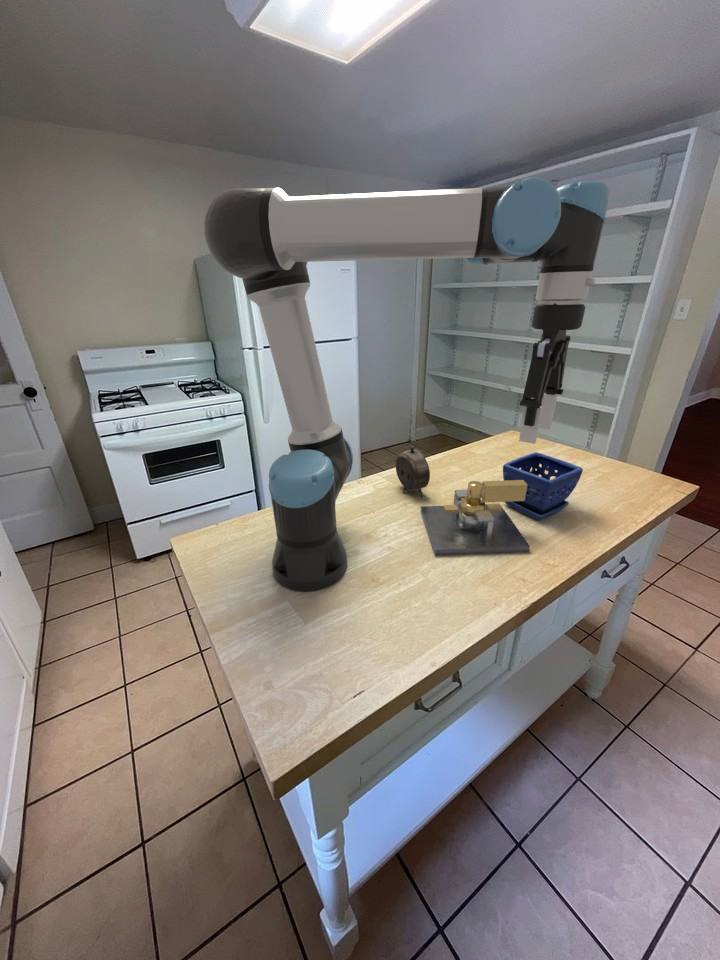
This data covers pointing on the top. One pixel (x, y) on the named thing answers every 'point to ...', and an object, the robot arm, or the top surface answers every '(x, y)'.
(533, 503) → the flower pot
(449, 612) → the top surface
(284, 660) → the top surface
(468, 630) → the top surface
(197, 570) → the top surface
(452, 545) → the socket
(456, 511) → the lever handle
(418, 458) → the alarm clock
